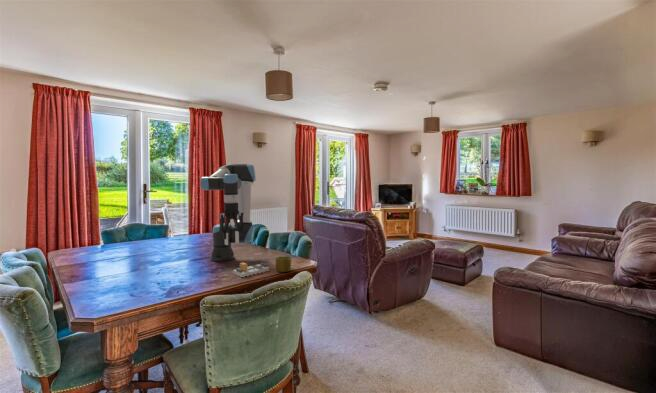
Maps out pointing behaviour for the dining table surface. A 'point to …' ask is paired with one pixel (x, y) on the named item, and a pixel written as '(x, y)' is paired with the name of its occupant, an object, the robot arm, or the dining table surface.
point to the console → (251, 270)
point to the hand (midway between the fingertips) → (231, 243)
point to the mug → (283, 264)
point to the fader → (243, 266)
